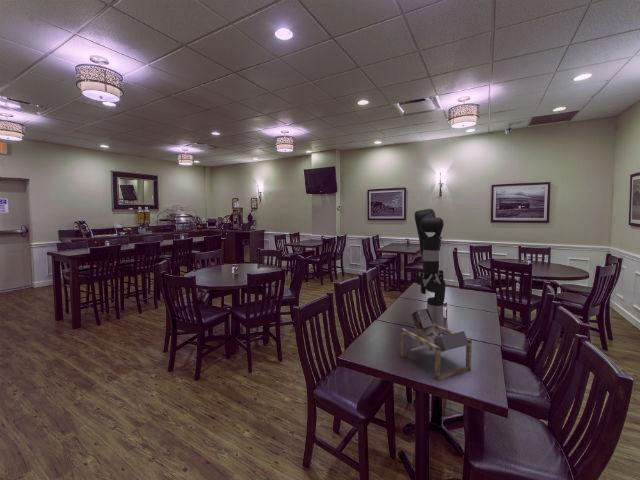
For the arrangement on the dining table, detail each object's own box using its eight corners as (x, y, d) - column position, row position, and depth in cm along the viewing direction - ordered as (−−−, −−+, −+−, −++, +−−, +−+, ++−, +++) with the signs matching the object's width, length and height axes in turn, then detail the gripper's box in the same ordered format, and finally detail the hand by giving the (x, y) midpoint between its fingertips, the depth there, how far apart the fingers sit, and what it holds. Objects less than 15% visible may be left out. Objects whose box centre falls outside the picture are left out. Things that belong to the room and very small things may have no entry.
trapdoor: (471, 344, 136) (465, 330, 139) (444, 350, 130) (438, 336, 132) (439, 352, 154) (434, 340, 157) (414, 358, 148) (409, 345, 150)
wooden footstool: (470, 370, 140) (471, 340, 138) (437, 380, 132) (438, 348, 130) (431, 348, 162) (432, 322, 161) (400, 356, 154) (401, 328, 153)
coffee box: (441, 340, 145) (428, 308, 152) (429, 343, 143) (416, 310, 150) (432, 343, 153) (420, 312, 160) (420, 346, 151) (409, 315, 158)
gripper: (436, 257, 152) (435, 289, 153) (413, 259, 146) (413, 292, 147) (448, 259, 145) (447, 292, 146) (424, 261, 139) (424, 296, 140)
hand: (430, 292), depth 147 cm, fingers open, 8 cm apart
